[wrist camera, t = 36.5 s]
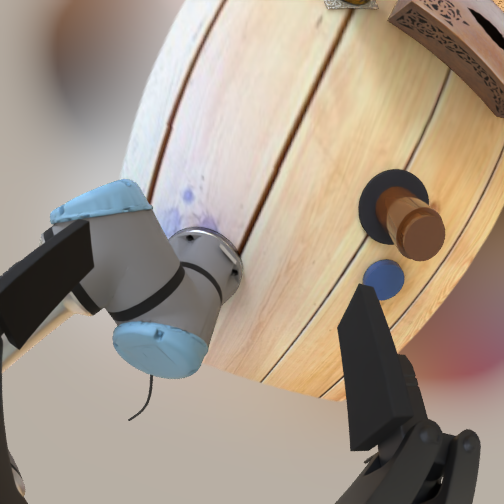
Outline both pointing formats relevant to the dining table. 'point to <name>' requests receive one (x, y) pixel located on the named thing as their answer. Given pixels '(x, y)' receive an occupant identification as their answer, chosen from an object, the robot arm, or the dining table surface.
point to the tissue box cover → (461, 40)
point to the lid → (384, 278)
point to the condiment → (351, 4)
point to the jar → (410, 223)
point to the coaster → (374, 192)
